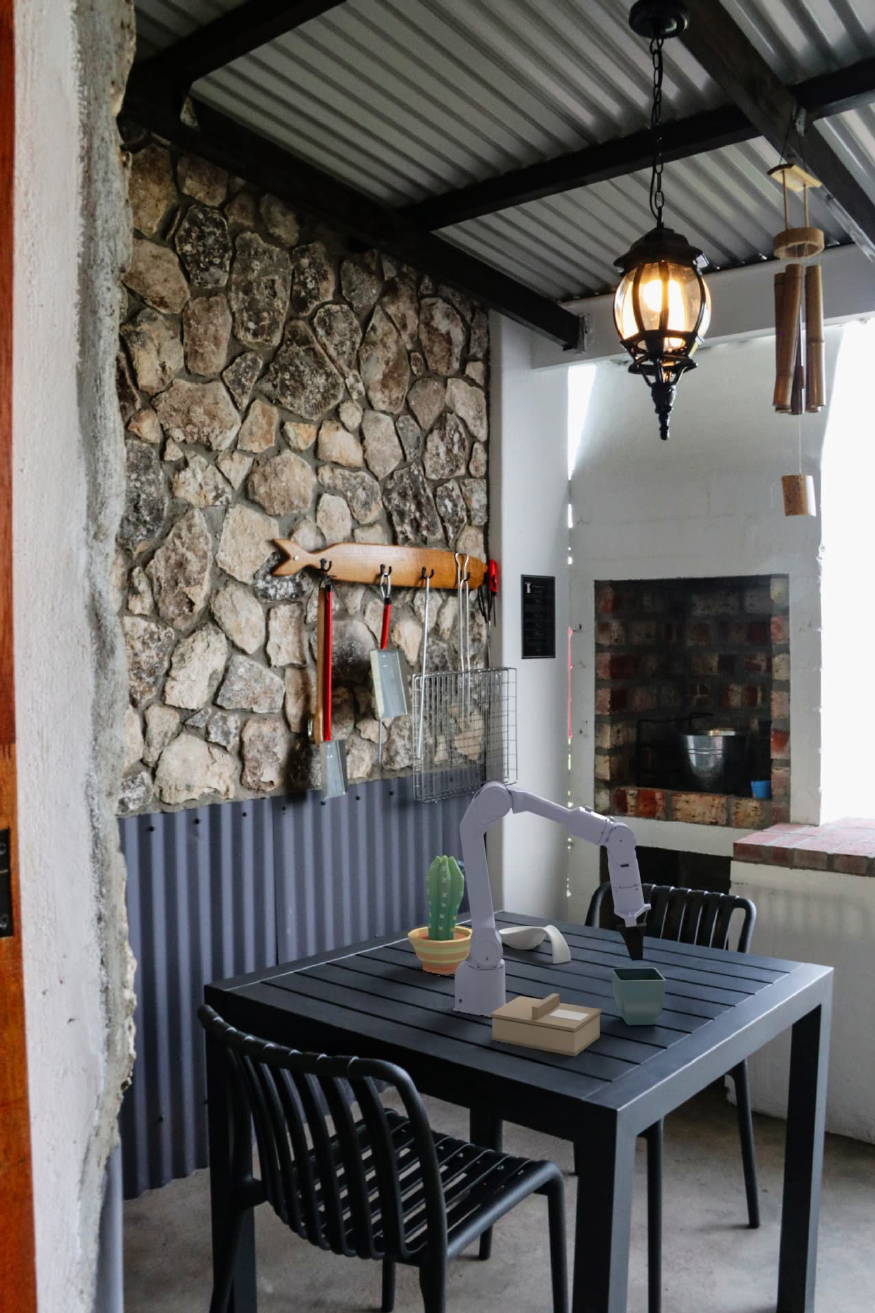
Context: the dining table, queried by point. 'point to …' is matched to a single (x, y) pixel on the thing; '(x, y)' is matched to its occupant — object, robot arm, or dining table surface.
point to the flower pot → (638, 994)
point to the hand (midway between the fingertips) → (637, 954)
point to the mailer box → (546, 1036)
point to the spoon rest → (537, 940)
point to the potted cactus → (443, 919)
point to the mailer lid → (546, 1013)
